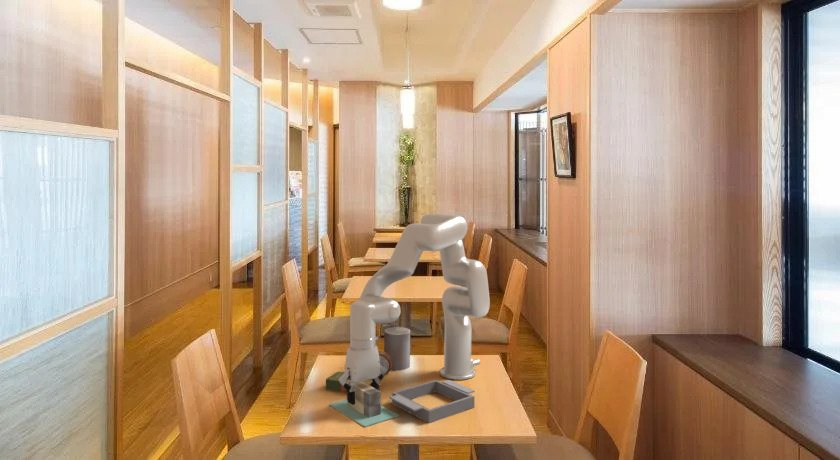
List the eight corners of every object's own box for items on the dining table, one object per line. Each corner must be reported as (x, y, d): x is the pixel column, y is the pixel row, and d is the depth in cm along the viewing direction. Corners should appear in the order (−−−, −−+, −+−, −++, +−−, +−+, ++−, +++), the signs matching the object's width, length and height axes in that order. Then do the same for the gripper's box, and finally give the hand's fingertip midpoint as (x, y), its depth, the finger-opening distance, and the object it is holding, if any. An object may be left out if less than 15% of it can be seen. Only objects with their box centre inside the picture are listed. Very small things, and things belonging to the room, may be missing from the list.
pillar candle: (382, 363, 216) (381, 324, 214) (407, 361, 218) (407, 322, 216) (386, 371, 206) (386, 331, 205) (412, 369, 209) (413, 329, 207)
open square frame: (442, 388, 191) (443, 377, 190) (481, 405, 177) (481, 393, 176) (384, 405, 176) (384, 394, 175) (420, 425, 162) (420, 413, 161)
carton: (368, 398, 183) (368, 385, 182) (325, 390, 189) (324, 378, 188) (379, 389, 190) (379, 376, 190) (337, 382, 197) (337, 370, 196)
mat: (361, 395, 184) (361, 394, 183) (399, 416, 168) (399, 415, 168) (329, 405, 176) (329, 404, 176) (364, 427, 160) (364, 426, 160)
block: (358, 401, 178) (358, 379, 177) (380, 414, 169) (380, 391, 168) (347, 404, 175) (347, 382, 175) (369, 417, 166) (369, 394, 166)
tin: (393, 374, 204) (393, 351, 203) (390, 377, 200) (390, 354, 200) (353, 370, 207) (353, 348, 206) (350, 373, 204) (350, 350, 203)
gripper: (379, 335, 178) (379, 389, 180) (330, 345, 168) (331, 403, 169) (394, 340, 173) (393, 396, 174) (344, 351, 162) (344, 411, 163)
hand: (363, 399), depth 172 cm, fingers open, 7 cm apart
